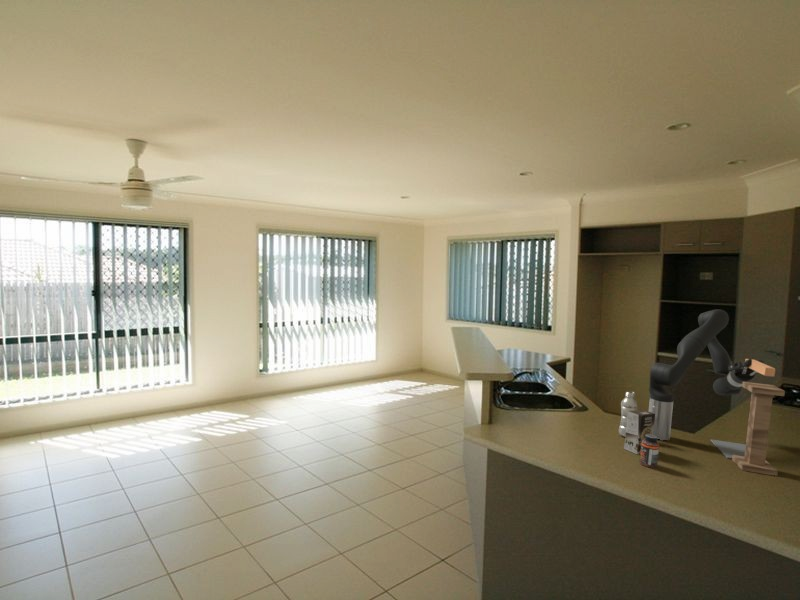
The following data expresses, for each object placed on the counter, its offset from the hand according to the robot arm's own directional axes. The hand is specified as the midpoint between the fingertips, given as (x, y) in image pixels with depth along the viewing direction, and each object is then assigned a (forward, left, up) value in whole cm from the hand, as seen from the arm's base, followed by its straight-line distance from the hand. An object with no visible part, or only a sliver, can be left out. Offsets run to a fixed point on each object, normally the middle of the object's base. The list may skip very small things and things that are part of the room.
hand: (756, 361), depth 185 cm
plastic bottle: (-37, +23, -40) cm, 59 cm away
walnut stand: (-4, -8, -40) cm, 41 cm away
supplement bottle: (-47, -7, -40) cm, 62 cm away
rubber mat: (+4, +8, -40) cm, 41 cm away
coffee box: (-42, +7, -40) cm, 58 cm away
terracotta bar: (-2, -3, -3) cm, 5 cm away
